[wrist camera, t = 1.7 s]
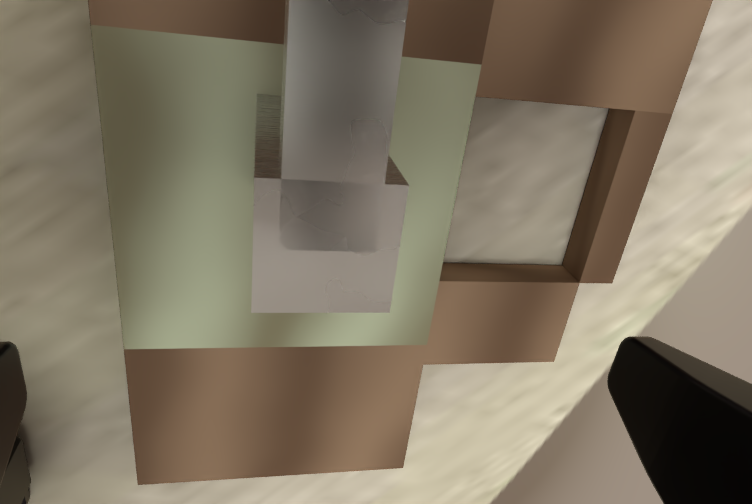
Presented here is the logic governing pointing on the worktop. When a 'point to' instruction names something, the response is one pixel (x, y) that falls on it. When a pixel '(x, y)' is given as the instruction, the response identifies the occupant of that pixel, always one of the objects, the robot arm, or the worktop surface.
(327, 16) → the grey bridge
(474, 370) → the worktop surface
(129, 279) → the board
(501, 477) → the worktop surface
